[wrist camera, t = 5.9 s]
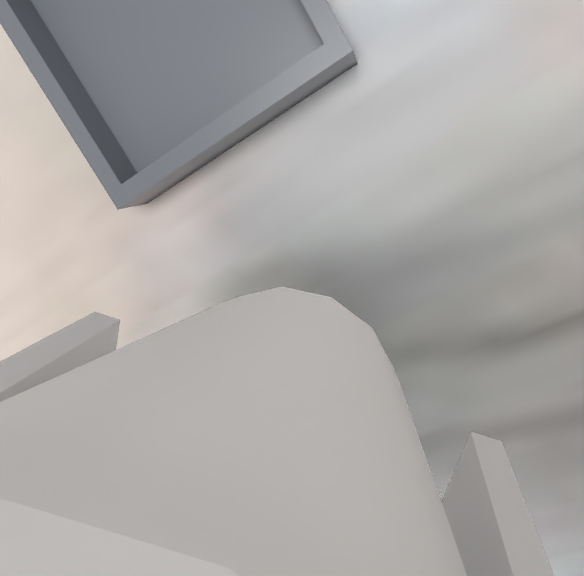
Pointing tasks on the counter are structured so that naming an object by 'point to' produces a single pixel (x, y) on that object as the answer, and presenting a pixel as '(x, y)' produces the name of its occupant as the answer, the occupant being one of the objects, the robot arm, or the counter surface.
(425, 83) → the counter surface
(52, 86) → the bin
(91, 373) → the foam cup
